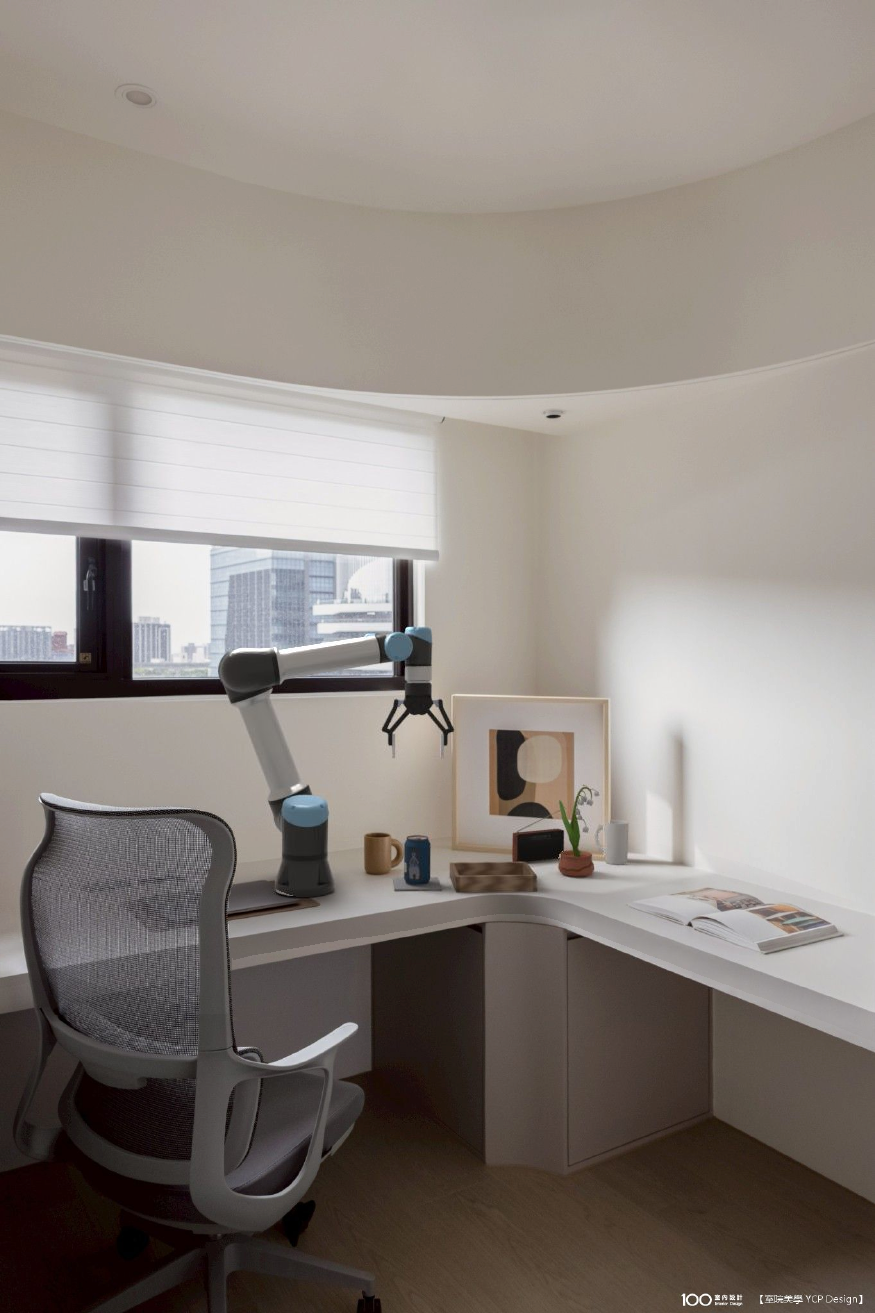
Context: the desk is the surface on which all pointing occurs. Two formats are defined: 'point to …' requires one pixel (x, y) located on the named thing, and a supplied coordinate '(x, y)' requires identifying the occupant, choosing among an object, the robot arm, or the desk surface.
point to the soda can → (417, 860)
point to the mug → (614, 841)
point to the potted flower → (576, 841)
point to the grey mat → (402, 885)
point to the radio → (537, 844)
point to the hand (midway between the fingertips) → (417, 757)
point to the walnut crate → (492, 877)
